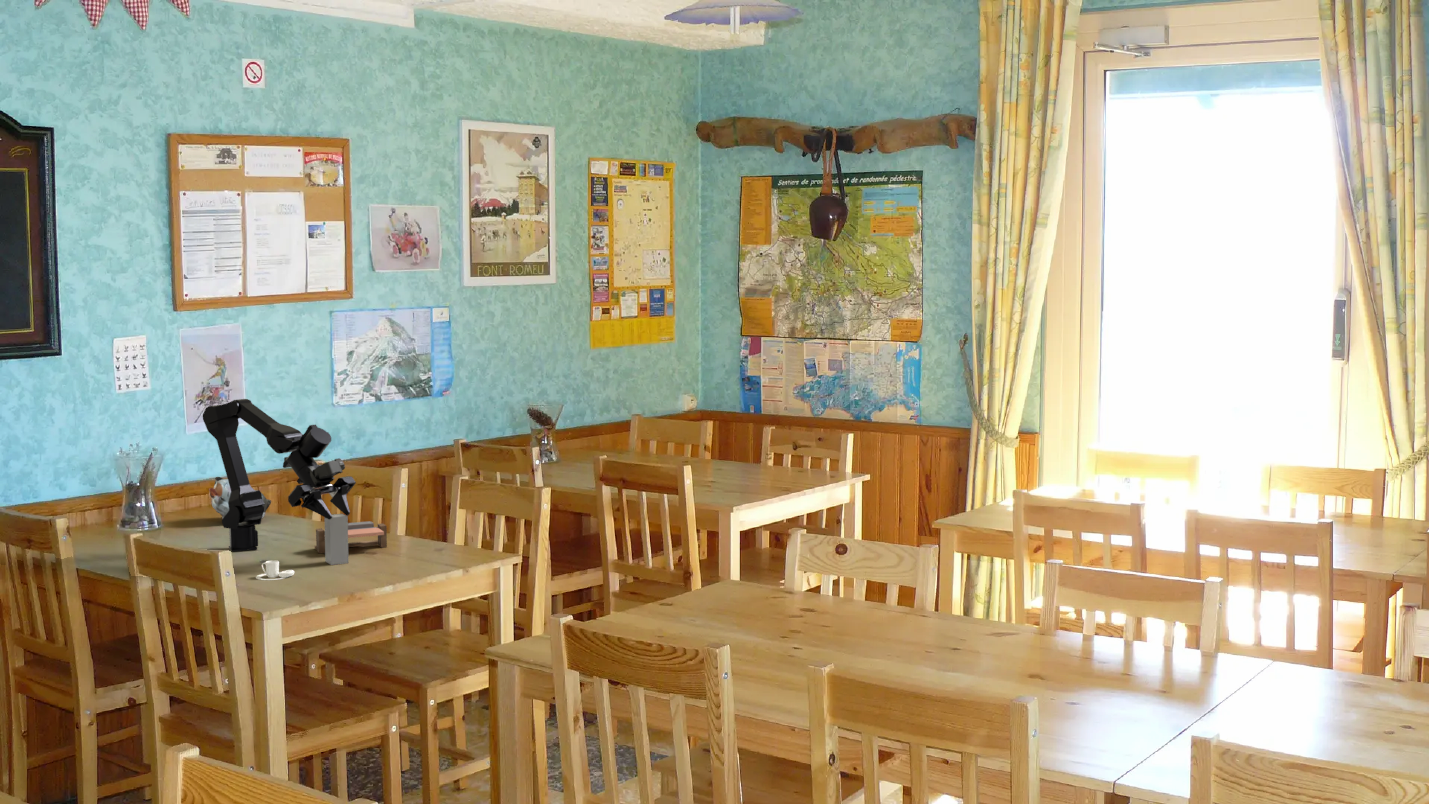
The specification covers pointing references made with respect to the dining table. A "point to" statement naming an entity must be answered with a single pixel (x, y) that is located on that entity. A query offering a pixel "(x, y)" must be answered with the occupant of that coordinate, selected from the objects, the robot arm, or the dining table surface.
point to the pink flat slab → (363, 529)
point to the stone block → (336, 539)
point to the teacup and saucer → (274, 571)
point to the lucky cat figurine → (226, 497)
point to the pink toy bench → (381, 542)
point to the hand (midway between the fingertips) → (339, 516)
